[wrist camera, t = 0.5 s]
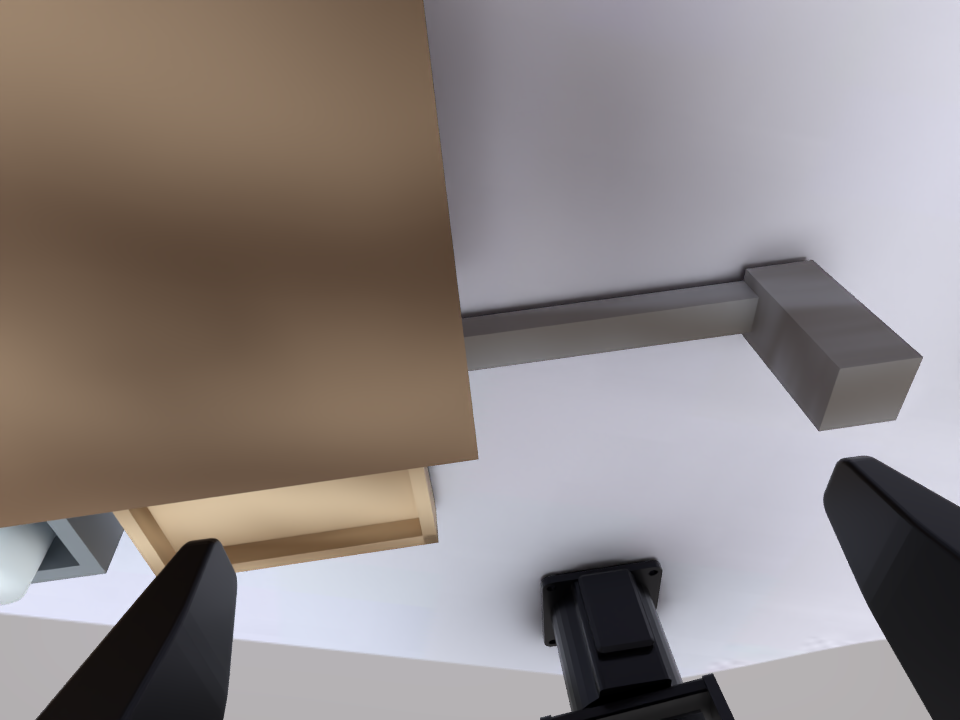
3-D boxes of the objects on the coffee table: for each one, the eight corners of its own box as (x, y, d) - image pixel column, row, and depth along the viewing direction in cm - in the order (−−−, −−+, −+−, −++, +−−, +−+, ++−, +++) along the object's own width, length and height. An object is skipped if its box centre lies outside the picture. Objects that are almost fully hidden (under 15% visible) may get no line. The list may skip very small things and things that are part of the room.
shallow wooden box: (757, 462, 29) (829, 573, 25) (172, 548, 28) (128, 681, 24) (814, 253, 23) (925, 350, 18) (51, 355, 22) (-44, 486, 17)
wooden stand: (449, 273, 22) (478, 459, 15) (-20, 334, 21) (-228, 560, 14) (383, -237, 14) (379, -367, 7) (-365, -165, 13) (-1239, -225, 6)
